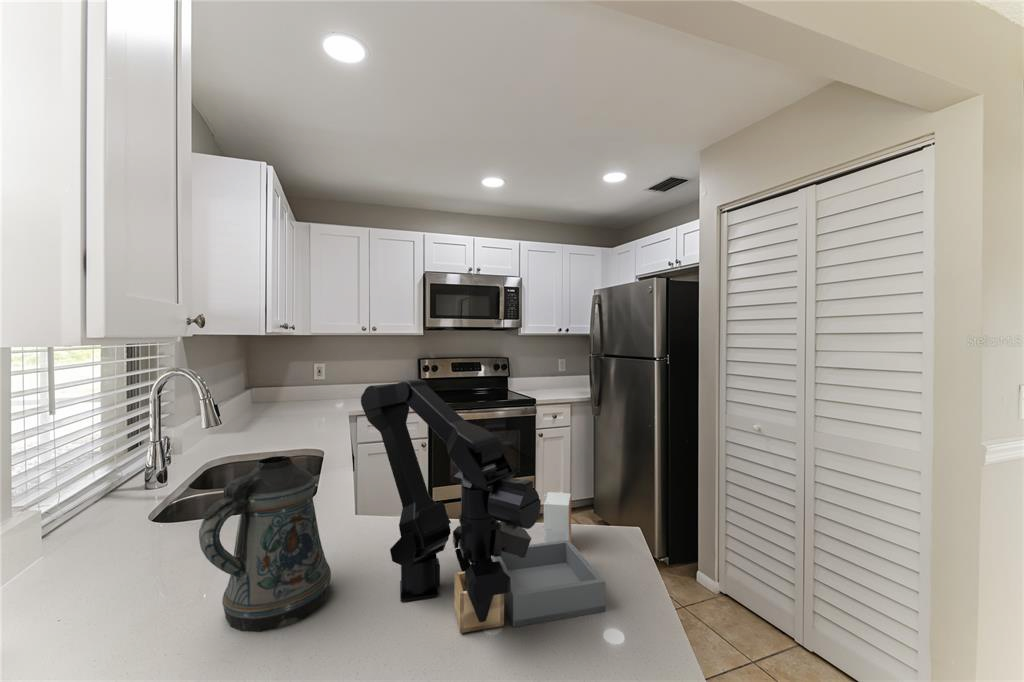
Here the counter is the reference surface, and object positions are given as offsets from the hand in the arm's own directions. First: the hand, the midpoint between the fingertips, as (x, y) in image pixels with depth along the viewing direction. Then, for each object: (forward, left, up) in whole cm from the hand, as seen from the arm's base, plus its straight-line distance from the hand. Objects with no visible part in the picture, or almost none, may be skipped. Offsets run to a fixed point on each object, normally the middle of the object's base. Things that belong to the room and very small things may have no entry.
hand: (478, 608), depth 70 cm
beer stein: (-33, +12, -2) cm, 35 cm away
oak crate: (0, 0, -1) cm, 1 cm away
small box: (+22, +21, -2) cm, 30 cm away
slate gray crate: (+13, +4, -2) cm, 14 cm away
